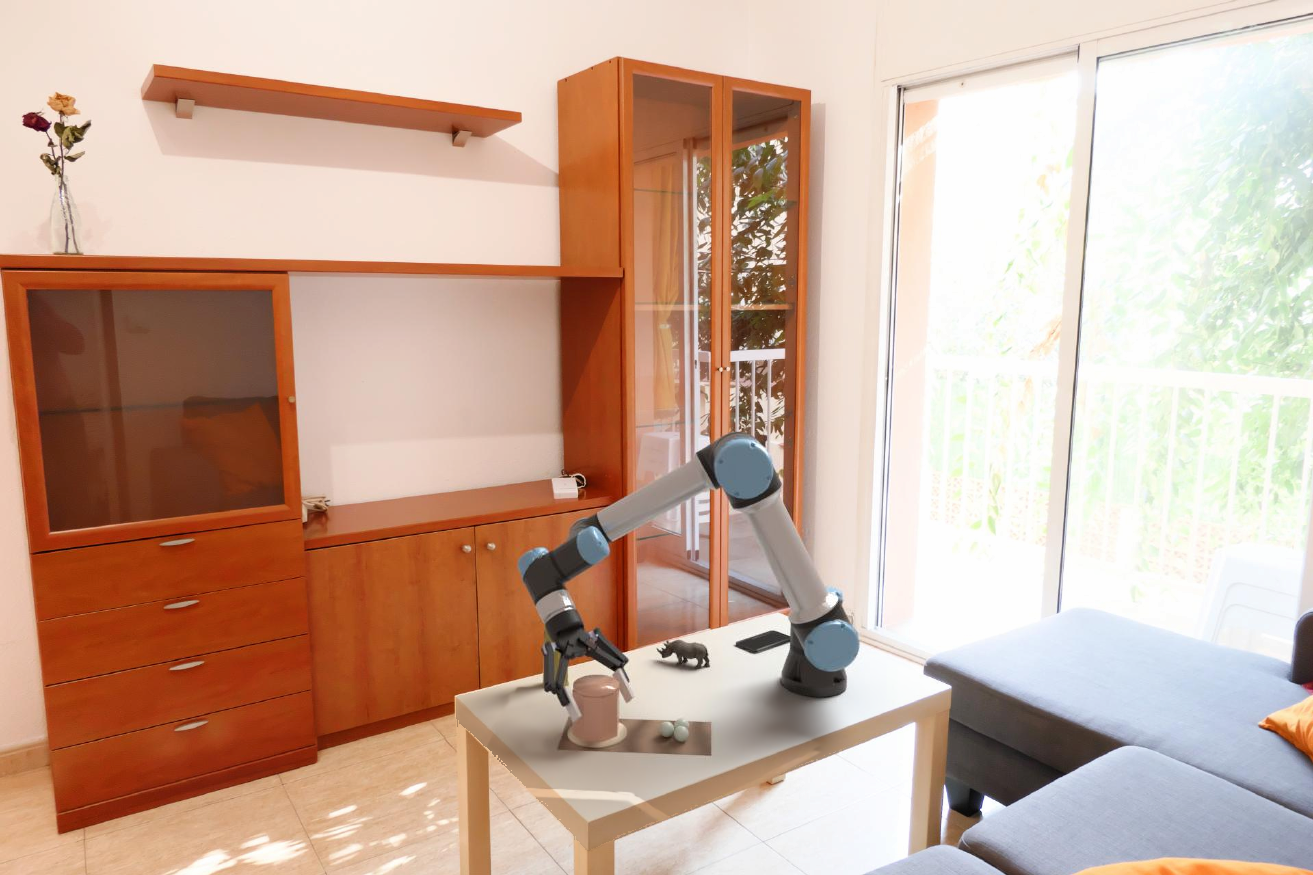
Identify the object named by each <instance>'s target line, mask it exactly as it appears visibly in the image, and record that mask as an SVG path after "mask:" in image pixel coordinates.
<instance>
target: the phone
mask: <svg viewBox="0 0 1313 875" xmlns="http://www.w3.org/2000/svg"><path fill="white" fill-rule="evenodd" d="M786 644H790V635H788V634H785V633H783V632H780V631H778V630H775V629H774V630H768V631H766V632H762V633H759V634H756V635H752V636H750V637H747V638H744V639H742V640H740V639H739V640H738V641H736V642H735V647H736V648H739V649H742V650H744V651H746V652H749V653H751V654H761V653H764V652H766V651H769V650H772V649H775V648H777V647H780V646H785V645H786Z"/></svg>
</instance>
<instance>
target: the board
mask: <svg viewBox="0 0 1313 875" xmlns="http://www.w3.org/2000/svg"><path fill="white" fill-rule="evenodd" d="M666 721H667V722H670V723H672V725H673V726H674V725H675V722H676V720H671V719H670V720H669V719H668V720H666V719H665V720H664V719H643V718H641V719H640V718H637V719H636V718H619V723H621V724H623V725H624V726H625V727H626V729H627V736H626V738H625V739H624V740H623V741H622V742H620V743H619V744H617V745H614V746H610V747H606V748H586V747H582V746H578V745H576V744H574V743H573V742H571V741H570V740H569V738H568V730H569V728H570V727H571V726H572V725H573V722H572V720H571V718H570V716H568V717H567V720H566V724H565V726H564V729H563V731H562V734H561V736H560V740H559V743H558V746H557V748H556V749H557V750H559V751H560V750H561V751H584V752H585V751H586V752H587V751H588V752H605V753H607V752H609V753H610V752H611V753H634V754H655V755H656V754H658V755H659V754H660V755H661V754H662V755H681V756H682V755H684V756H685V755H687V756H709V757H710V756H712V722H711V721H697V720H695V721H693V720H692V721H691V720H687V721H688V723H689V729H688V732H689V736H688V739H687V740H686V741H684V742H679V741H677V740H676V739H675V737H674V732H673V734H672V735H671V736H670V737H664V736H662V735H661V734H660V732H659V727H660V725H661V724H662V723H663V722H666ZM674 730H675V727H674Z"/></svg>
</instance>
